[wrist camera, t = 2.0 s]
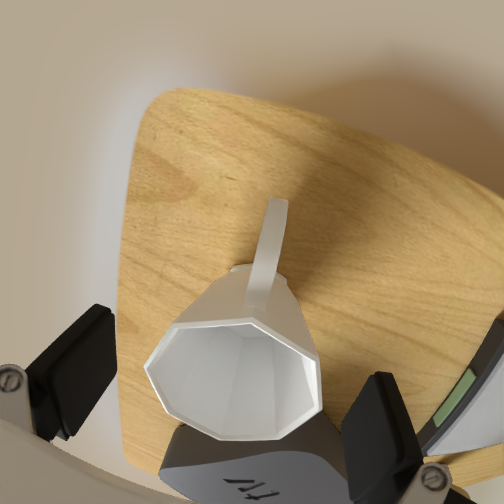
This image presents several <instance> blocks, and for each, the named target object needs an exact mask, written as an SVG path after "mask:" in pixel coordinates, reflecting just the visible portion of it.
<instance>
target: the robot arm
mask: <svg viewBox="0 0 504 504" xmlns="http://www.w3.org/2000/svg"><path fill="white" fill-rule="evenodd" d="M116 372H117V356H116V339H115V316H114V314H113V313H111V309H110V308H108V307H105V306H102V305H99V304H94V305H93V306H92V307H91V308H90V309H88V310H87V311H86V312H85V313H84V314H83V315H82V316H81V317H80V318H79V319H77V320H76V321H75V322H74V323H73V324H72V325H71V326H70V327H69V328H68V329H67V330H65V331H64V332H63V333H62V334H61V335H60V336H59V337H58V338H57V339H56V340H55V341H54V342H53V343H52V344H51V345H50V346H49V347H48V348H47V349H46V350H44V351H43V352H42V353H41V354H40V355H39V356H38V357H37V358H36V359H35V360H34V361H33V362H32V363H31V364H30V365H29V366H28V367H27V368H26V369H25V370H23V369H22V368H21V367H19V366H17V365H14V364H5V365H1V366H0V504H202V503H198V502H194V501H189V500H186V499H182V498H179V497H175V496H172V495H168V494H165V493H162V492H158V491H156V490H153V489H150V488H146V487H144V486H141V485H138V484H136V483H133V482H130V481H128V480H125V479H123V478H120V477H118V476H115V475H113V474H111V473H108V472H106V471H104V470H102V469H99V468H97V467H95V466H93V465H91V464H89V463H87V462H85V461H83V460H81V459H79V458H77V457H74V456H73V455H70V454H69V453H67V452H65V451H63V450H61V449H59V448H58V447H56V446H54V445H53V443H52V440H53V439H54V437H55V436H58V437H60V438H62V439H63V440H65V441H67V440H68V439H69V437H70V436H75V435H76V433H77V432H78V430H79V429H80V427H81V426H82V424H83V423H84V421H85V420H86V418H87V417H88V415H89V414H90V412H91V411H92V409H93V408H94V406H95V405H96V403H97V402H98V400H99V399H100V397H101V396H102V394H103V393H104V391H105V390H106V389H107V387H108V386H109V384H110V383H111V381H112V380H113V378H114V377H115V375H116ZM341 435H342V442H343V449H344V457H345V465H346V473H347V482H348V491H349V499H350V500H351V501H353V504H477V503H475V502H473V501H472V500H470V499H468V498H467V497H465V496H463V495H462V494H460V493H458V492H457V491H455V490H453V489H452V488H450V485H451V476H450V474H449V472H448V470H447V469H446V468H445V467H444V466H442V465H441V464H439V463H436V462H427V463H425V464H424V462H423V458H424V457H423V454H422V451H421V448H420V445H419V443H418V440H417V437H416V434H415V431H414V428H413V426H412V423H411V420H410V417H409V415H408V412H407V409H406V407H405V404H404V402H403V399H402V396H401V394H400V391H399V389H398V386H397V384H396V381H395V379H394V376H393V374H392V373H389V372H380V371H377V372H375V373H374V375H370V376H369V378H368V380H367V381H366V383H365V385H364V387H363V388H362V390H361V392H360V393H359V395H358V397H357V398H356V400H355V402H354V403H353V405H352V406H351V408H350V410H349V411H348V413H347V414H346V416H345V417H344V419H343V421H342V423H341Z"/></svg>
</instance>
